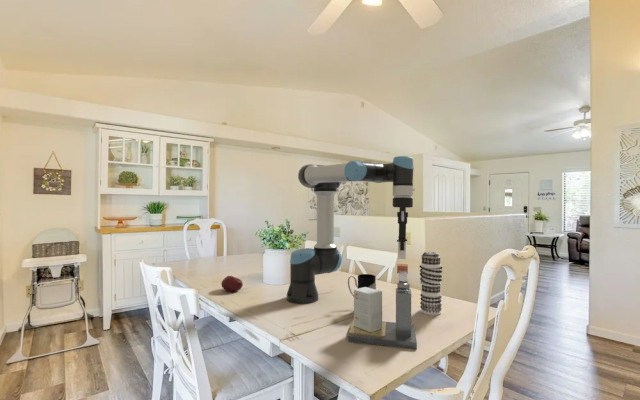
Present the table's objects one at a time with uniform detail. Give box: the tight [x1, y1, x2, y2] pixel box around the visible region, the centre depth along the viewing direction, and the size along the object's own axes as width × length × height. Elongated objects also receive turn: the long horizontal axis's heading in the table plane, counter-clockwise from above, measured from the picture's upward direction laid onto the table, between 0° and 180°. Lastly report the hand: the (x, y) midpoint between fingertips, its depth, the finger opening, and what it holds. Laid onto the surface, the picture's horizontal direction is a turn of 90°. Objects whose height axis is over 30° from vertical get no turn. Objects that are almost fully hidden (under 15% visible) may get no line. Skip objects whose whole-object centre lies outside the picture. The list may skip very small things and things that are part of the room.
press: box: [347, 287, 418, 350], centre depth 112 cm, size 22×16×16 cm
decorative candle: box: [418, 251, 443, 316], centre depth 137 cm, size 9×9×25 cm
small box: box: [353, 287, 383, 333], centre depth 114 cm, size 8×6×13 cm
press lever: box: [396, 263, 411, 290], centre depth 120 cm, size 4×22×3 cm, turn 167°
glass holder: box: [347, 273, 377, 298], centre depth 139 cm, size 9×14×15 cm, turn 47°
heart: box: [221, 275, 244, 293], centre depth 168 cm, size 12×8×10 cm
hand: (401, 258), depth 124 cm, fingers closed
